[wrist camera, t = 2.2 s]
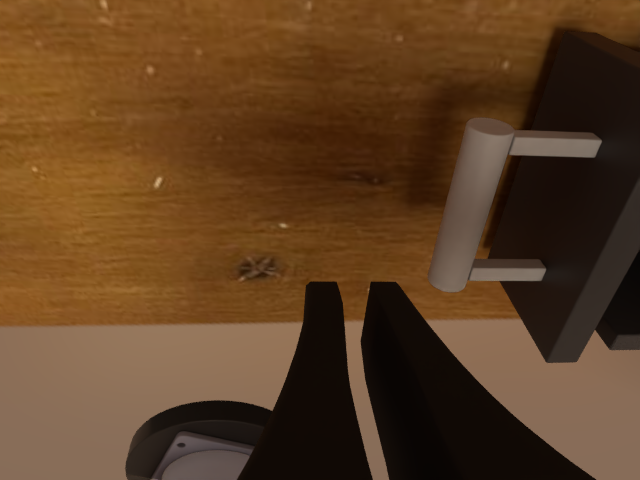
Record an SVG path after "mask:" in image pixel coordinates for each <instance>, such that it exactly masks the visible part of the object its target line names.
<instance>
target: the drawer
mask: <svg viewBox="0 0 640 480" xmlns="http://www.w3.org/2000/svg"><path fill="white" fill-rule="evenodd" d="M507 154H509V155H522V158H521V161H520V164H519V167H518V170H517V173H516V176H515V179H514V182H513V185H512V188H511V191H510V194H509V197H508V200H507V202H506V205H505V208H504V211H503V214H502V217H501V220H500V223H499V226H498V229H497V232H496V235H495V238H494V241H493V244H492V247H491V250H490V253H489V256H488V259H474V258H475V255H476V252H477V248H478V245H479V242H480V239H481V236H482V233H483V230H484V226H485V223H486V220H487V217H488V214H489V211H490V208H491V205H492V201H493V198H494V195H495V192H496V189H497V186H498V183H499V179H500V176H501V173H502V170H503V167H504V164H505V161H506V158H507ZM428 280H429V282H430V283H431V284H432V285H433V286H434V287H436V288H437V289H439V290H442V291H445V292H458V291H461V290H462V289H463V288H464V287H465V286H466V283H467V280H469V281H500V283H501V285H502V286H503V288H504V290H505V292H506V293H507V295H508V297H509V299H510V300H511V302H512V304H513V305H514V307H515V309H516V311H517V312H518V314H519V316H520V318H521V319H522V321H523V323H524V325H525V326H526V328H527V330H528V332H529V333H530V335H531V336H532V339H533V340H534V342H535V344H536V345H537V347H538V349H539V351H540V352H541V354H542V356H543V358H544V359H545V361H546V362H547V363H563V362H577V361H578V359H579V357H580V355H581V353H582V351H583V350H584V348H585V346H586V344H587V343H588V341H589V339H590V337H591V336H592V334H593V332H594V330H596V332H597V333H598V334H599V336H600V337H601V338H602V340H603V341H604V343H605V344H606V345H607V347H608V348H609V349H610V350H640V52H637V51H634V50H632V49H630V48H628V47H626V46H623V45H621V44H619V43H617V42H615V41H613V40H610V39H608V38H606V37H604V36H602V35H599V34H597V33H591V32H574V31H565V32H564V34H563V37H562V40H561V43H560V46H559V49H558V52H557V55H556V58H555V61H554V64H553V67H552V70H551V73H550V76H549V79H548V82H547V84H546V87H545V90H544V93H543V96H542V99H541V102H540V105H539V108H538V111H537V114H536V117H535V120H534V123H533V126H532V129H531V131H529V130H514V128H513V127H512V126H510V125H509V124H507V123H505V122H502V121H500V120H496V119H491V118H472V119H470V120H468V122H467V123H466V127H465V131H464V135H463V139H462V143H461V147H460V151H459V154H458V158H457V162H456V166H455V170H454V174H453V178H452V182H451V186H450V190H449V193H448V197H447V201H446V205H445V209H444V213H443V217H442V221H441V225H440V229H439V233H438V236H437V240H436V244H435V248H434V252H433V256H432V260H431V264H430V268H429V272H428Z"/></svg>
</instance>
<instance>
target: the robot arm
mask: <svg viewBox="0 0 640 480" xmlns="http://www.w3.org/2000/svg"><path fill="white" fill-rule="evenodd" d="M361 348H362V357H363V365H364V373H365V380H366V385H367V388H368V393H369V397H370V401H371V405H372V409H373V413H374V417H375V422H376V426H377V430H378V434H379V438H380V442H381V446H382V450H383V454H384V458H385V462H386V466H387V471H388V475H389V480H596V479H595V478H593V477H592V476H590V475H589V474H588V473H586V472H585V471H583V470H582V469H580V468H579V467H578V466H576V465H575V464H573V463H572V462H570V461H569V460H568V459H567V458H565V457H564V456H563V455H562V454H560V453H559V452H557V451H556V450H555V449H554V448H553V447H551V446H550V445H549V444H547V443H546V442H545V441H544V440H543V439H541V438H540V437H539V436H538V435H536V434H535V433H534V432H533V431H531V430H530V429H529V428H528V427H526V426H525V425H524V424H523V423H522V422H520V421H519V420H518V419H517V418H516V417H515V416H514V415H513V414H511V413H510V412H509V411H508V410H507V409H506V408H505V407H504V406H503V405H502V404H500V403H499V402H498V401H497V400H496V399H495V398H494V397H493V396H492V395H491V394H490V393H489V392H488V391H487V390H486V389H485V388H484V387H483V386H482V385H481V384H480V383H479V382H478V381H477V380H476V379H475V378H474V377H473V376H472V375H471V373H470V372H469V371H468V370H467V369H466V368H465V367H464V366H463V365H462V364H461V363H460V362H459V361H458V359H457V358H456V357H455V356H454V355H453V354H452V353H451V351H450V350H449V349H448V348H447V346H446V345H445V344H444V343H443V342H442V340H441V339H440V338H439V337H438V336H437V334H436V333H435V332H434V331H433V330H432V328H431V327H430V326H429V325H428V323H427V322H426V321H425V319H424V318H423V317H422V315H421V314H420V313H419V312H418V310H417V309H416V308H415V306H414V305H413V304H412V302H411V301H410V300H409V298H408V297H407V295H406V294H405V293H404V291H403V290H402V289H401V287H400V286H399V285H398V284H397V283H396V282H371V284H370V290H369V295H368V301H367V307H366V313H365V319H364V325H363V330H362V337H361ZM150 480H373V479H372V475H371V472H370V468H369V465H368V461H367V457H366V453H365V449H364V445H363V441H362V436H361V433H360V428H359V424H358V420H357V416H356V411H355V407H354V402H353V398H352V393H351V388H350V383H349V375H348V366H347V353H346V341H345V326H344V313H343V302H342V299H341V295H340V291H339V288H338V285H337V282H310V283H309V284H307V285H306V292H305V306H304V320H303V325H302V329H301V333H300V337H299V341H298V344H297V348H296V351H295V355H294V357H293V360H292V363H291V366H290V369H289V372H288V375H287V377H286V380H285V383H284V385H283V388H282V390H281V393H280V395H279V397H278V400H277V402H276V404H275V407H274V409H273V411H272V413H271V416H270V418H269V420H268V422H267V424H266V426H265V428H264V430H263V432H262V434H261V436H260V438H259V440H258V442H257V444H256V446H253V445H249V444H244V443H239V442H235V441H230V440H226V439H221V438H216V437H212V436H207V435H202V434H198V433H193V432H188V431H181V432H179V433H178V434H177V435H176V437H175V438H174V440H173V442H172V443H171V445H170V447H169V448H168V450H167V452H166V453H165V455H164V457H163V459H162V460H161V462H160V464H159V465H158V467H157V469H156V470H155V472H154V474H153V475H152V477H151V479H150Z"/></svg>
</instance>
